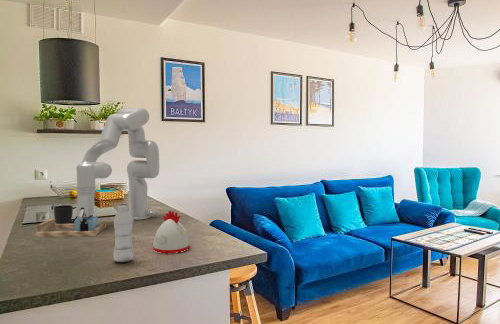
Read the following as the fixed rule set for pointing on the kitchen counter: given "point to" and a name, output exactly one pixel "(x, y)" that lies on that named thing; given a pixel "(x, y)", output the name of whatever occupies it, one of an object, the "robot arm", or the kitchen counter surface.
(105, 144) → the robot arm
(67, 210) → the mug
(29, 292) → the kitchen counter surface
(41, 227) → the tray
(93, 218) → the light blue block
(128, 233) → the plastic bottle
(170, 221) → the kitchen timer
